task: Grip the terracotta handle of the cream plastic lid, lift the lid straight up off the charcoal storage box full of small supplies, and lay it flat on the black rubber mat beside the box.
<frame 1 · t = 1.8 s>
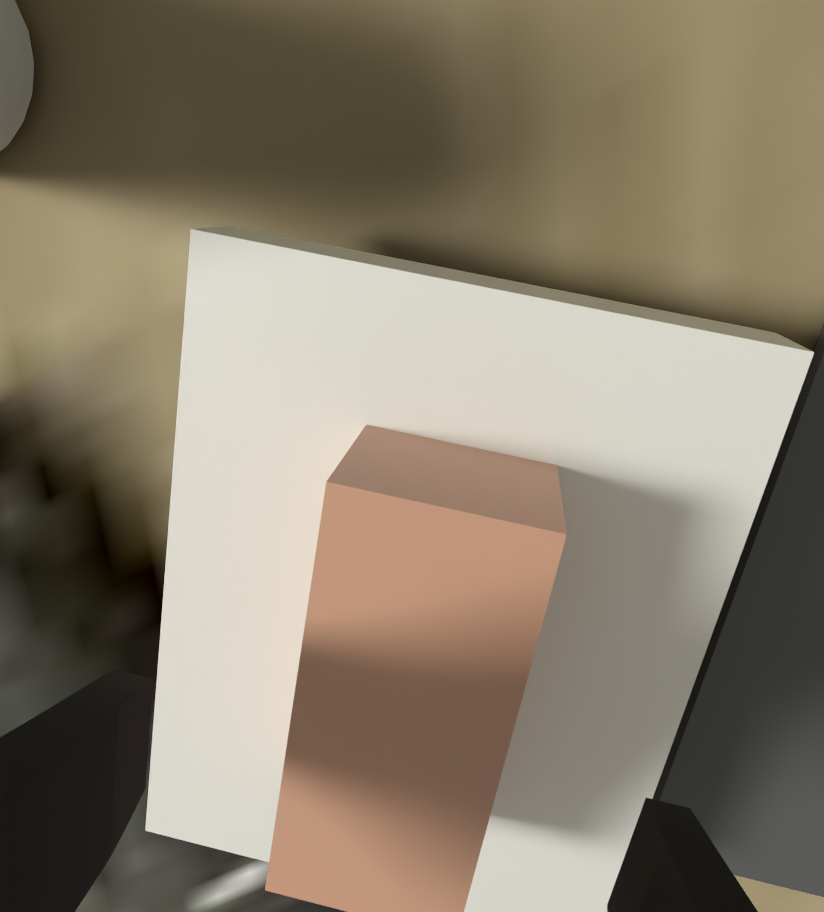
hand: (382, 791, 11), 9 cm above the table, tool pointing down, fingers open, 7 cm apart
lid: (431, 585, 17), point 2 cm above the table, touching storage box
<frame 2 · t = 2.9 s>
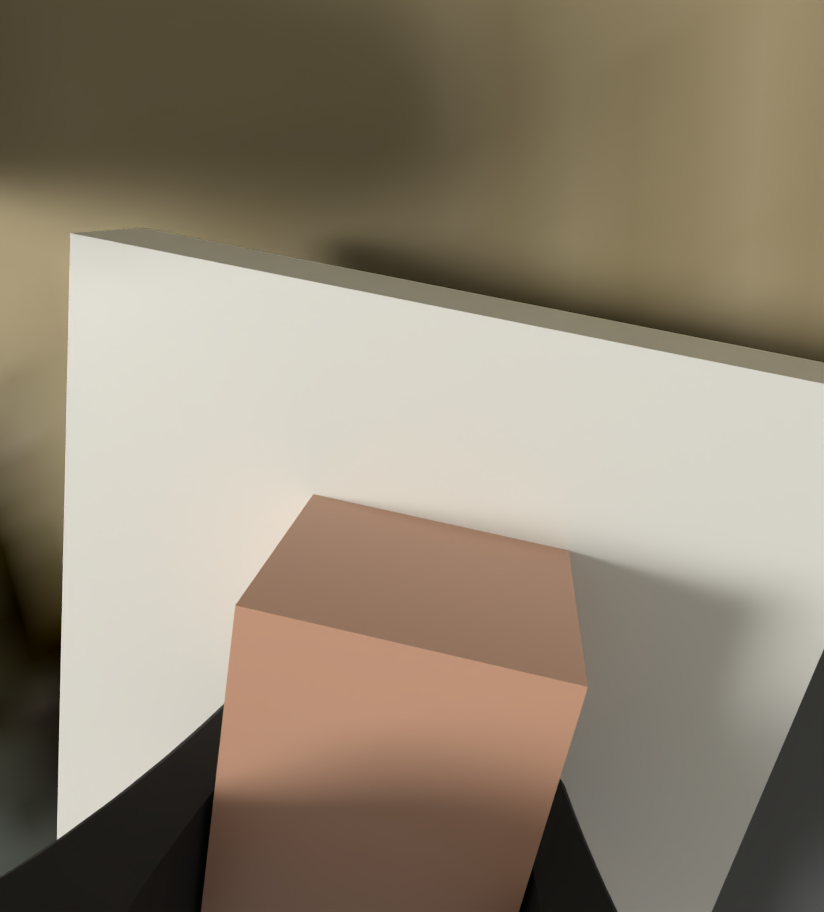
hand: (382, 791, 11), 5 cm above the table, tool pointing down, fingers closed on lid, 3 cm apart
lid: (408, 679, 13), point 2 cm above the table, touching gripper, storage box
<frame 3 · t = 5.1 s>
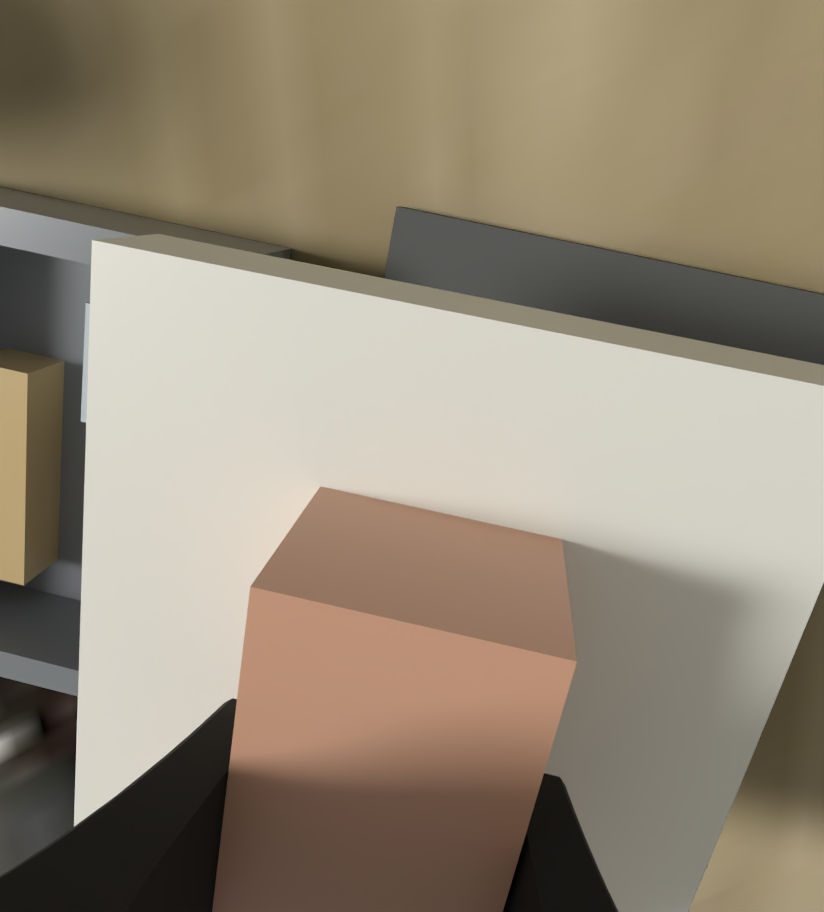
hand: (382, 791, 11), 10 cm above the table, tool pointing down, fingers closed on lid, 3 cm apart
mat: (565, 539, 20), on the table
lid: (410, 665, 14), point 7 cm above the table, touching gripper
storage box: (107, 432, 21), on the table
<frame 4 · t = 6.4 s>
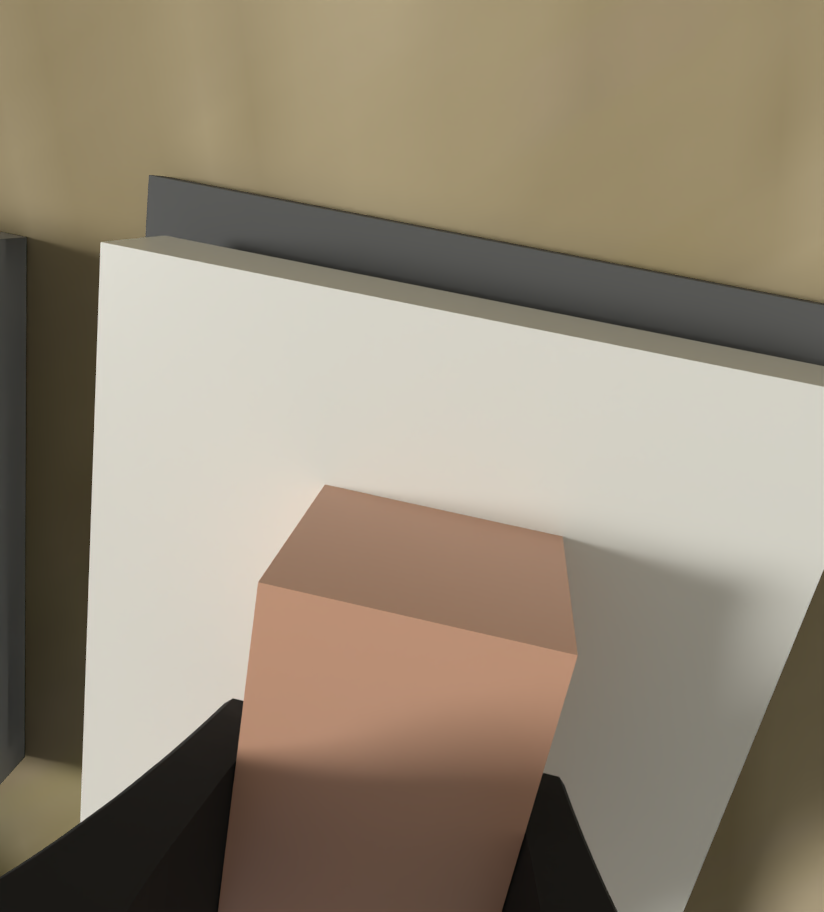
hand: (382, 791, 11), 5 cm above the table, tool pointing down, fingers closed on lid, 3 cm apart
mat: (421, 620, 15), on the table
lid: (412, 661, 14), point 1 cm above the table, touching gripper
when the fingers open (4 cm above the table, at t = 7.3 s): lid stays where it is, resting on mat.
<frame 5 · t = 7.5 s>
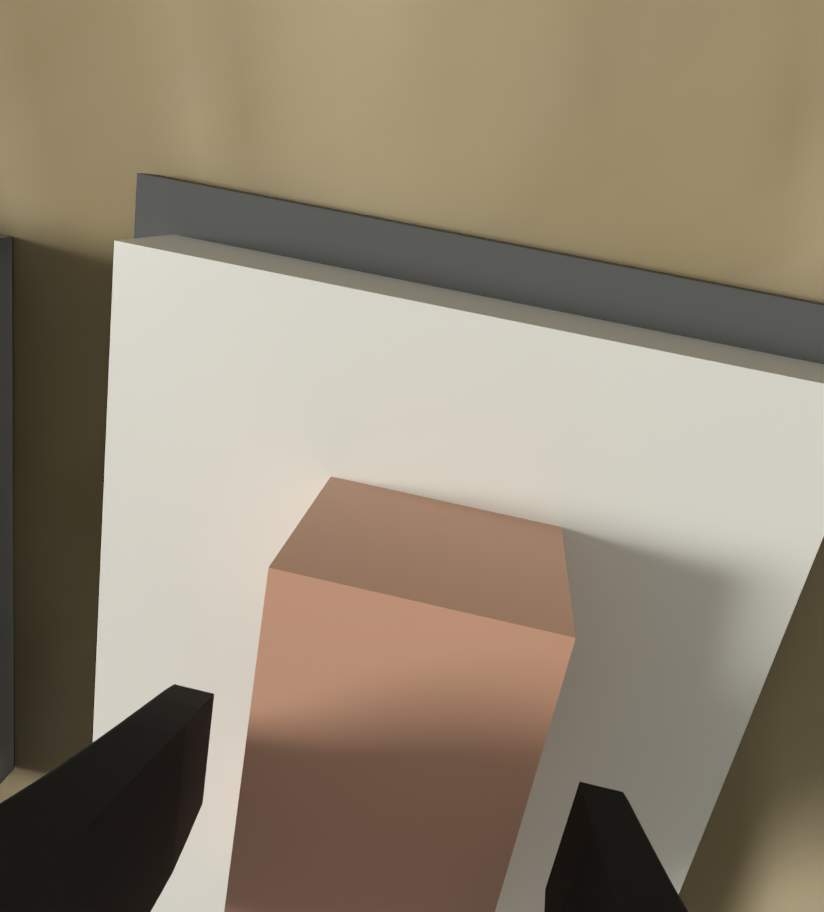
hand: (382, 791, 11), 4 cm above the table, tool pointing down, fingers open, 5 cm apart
mat: (419, 631, 15), on the table
lid: (414, 651, 14), resting on mat
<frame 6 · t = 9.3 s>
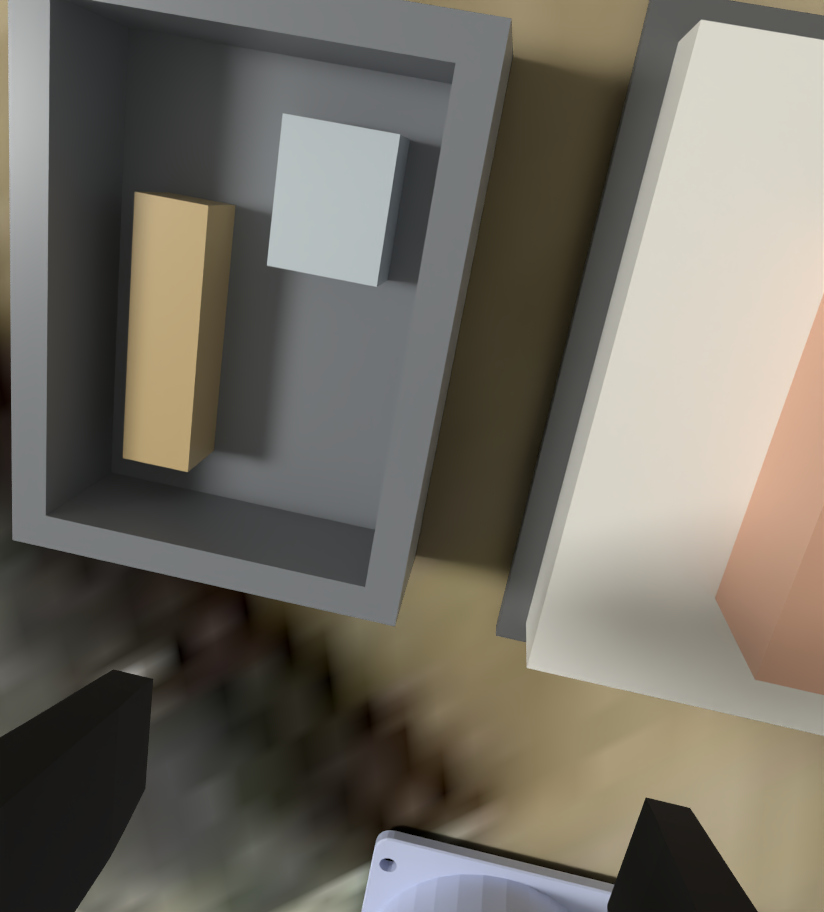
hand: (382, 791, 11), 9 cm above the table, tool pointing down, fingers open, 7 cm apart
mat: (820, 405, 17), on the table
storage box: (276, 298, 18), on the table
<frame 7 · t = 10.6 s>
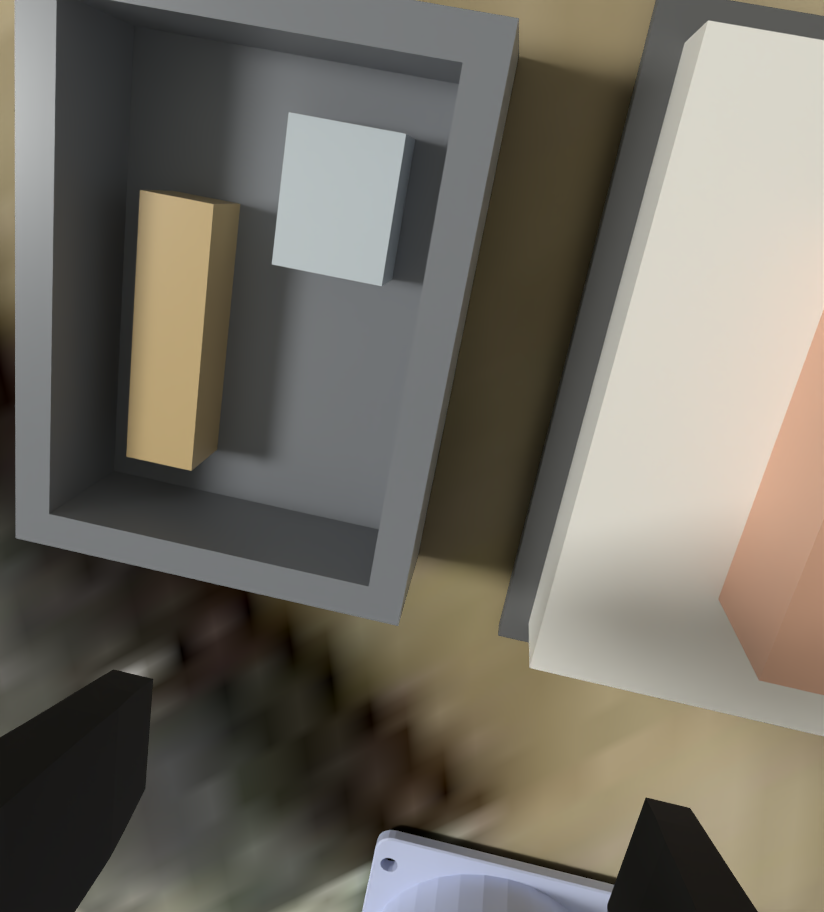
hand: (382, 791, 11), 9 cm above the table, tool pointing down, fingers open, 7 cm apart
storage box: (280, 297, 18), on the table
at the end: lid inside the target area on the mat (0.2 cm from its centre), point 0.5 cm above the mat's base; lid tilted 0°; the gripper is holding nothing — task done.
